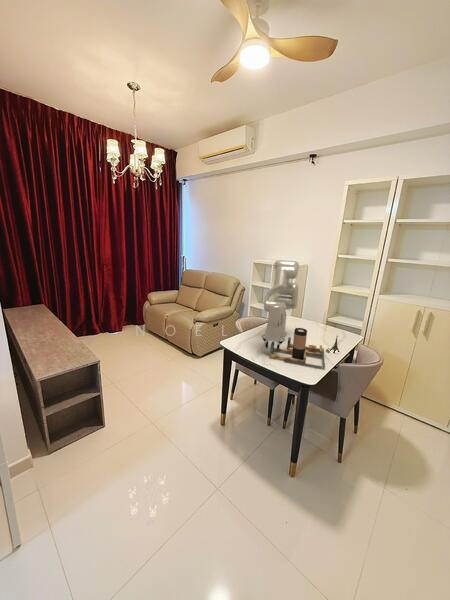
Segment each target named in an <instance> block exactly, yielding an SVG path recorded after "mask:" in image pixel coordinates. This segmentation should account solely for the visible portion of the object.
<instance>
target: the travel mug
mask: <svg viewBox="0 0 450 600" xmlns="http://www.w3.org/2000/svg"><path fill="white" fill-rule="evenodd" d="M307 335H308V330H307V329H306V328H303V327H296V328H294V332H293V339H292V340H293V342H292V344H293V348H292V349H293V350H292V355H291V358H294V359H299V360H304V353H305V346H306V347H307Z"/></svg>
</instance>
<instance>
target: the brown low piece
mask: <svg viewBox="0 0 450 600" xmlns="http://www.w3.org/2000/svg"><path fill="white" fill-rule="evenodd" d="M275 343H276V341H271V343H270V349H269V357H268V359H270V360H278V361H282V362H284V359H285V360H291V361H296V362H302V363H306V360H307V356H306V352H307V350H306V349H305V353H304V360H299V359H294V358H292V357H288V356H284V355H283V356H282V355H277V354H274V353H281V354H285V355H291V356H292V351H291V350H287V349H285V348H279V349H278V351H277V347H275Z"/></svg>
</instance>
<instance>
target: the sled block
mask: <svg viewBox="0 0 450 600" xmlns="http://www.w3.org/2000/svg"><path fill="white" fill-rule="evenodd" d="M291 339H292V337H288V338H287V344H286V345H287V346H286V348H287V349H286V350H291V351H292V350H293V343H291V342H292V340H291ZM322 348H323V345H319V347H318V348H317V347H316V353H314V352H308V346H307V345H306V346H305V349H306V350H307V352H306V354H311V355H317V356H322Z"/></svg>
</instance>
